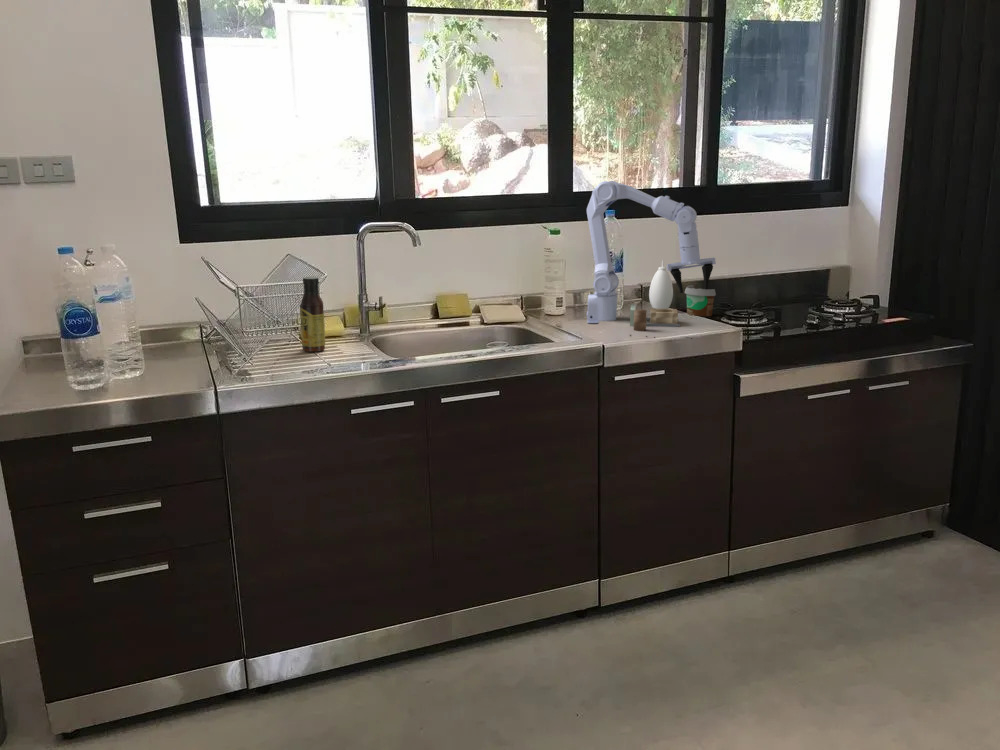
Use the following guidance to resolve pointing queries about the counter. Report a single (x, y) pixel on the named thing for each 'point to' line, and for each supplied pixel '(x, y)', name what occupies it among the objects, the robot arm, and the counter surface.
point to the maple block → (664, 316)
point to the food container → (699, 301)
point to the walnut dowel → (640, 320)
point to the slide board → (648, 320)
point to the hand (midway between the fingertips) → (693, 291)
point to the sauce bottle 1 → (312, 317)
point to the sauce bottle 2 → (661, 289)
